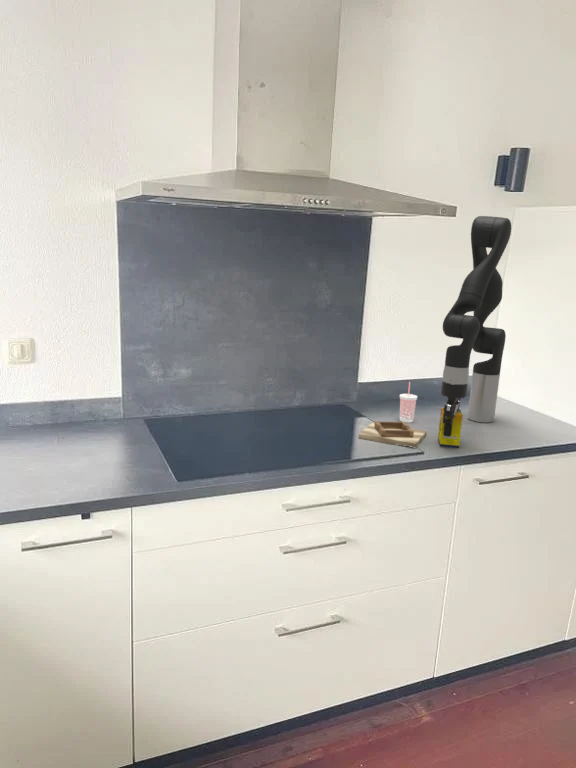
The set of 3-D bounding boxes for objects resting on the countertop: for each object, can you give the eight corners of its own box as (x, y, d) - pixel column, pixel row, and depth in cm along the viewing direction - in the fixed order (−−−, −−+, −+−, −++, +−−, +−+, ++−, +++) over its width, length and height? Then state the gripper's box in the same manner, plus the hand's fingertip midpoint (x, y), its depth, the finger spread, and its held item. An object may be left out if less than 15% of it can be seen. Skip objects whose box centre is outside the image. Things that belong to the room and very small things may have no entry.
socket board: (372, 426, 199) (373, 416, 198) (426, 435, 191) (427, 425, 190) (358, 438, 185) (359, 427, 184) (415, 448, 178) (416, 437, 177)
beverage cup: (413, 424, 203) (417, 384, 200) (396, 421, 205) (399, 382, 202) (416, 419, 209) (419, 381, 206) (398, 417, 211) (402, 379, 208)
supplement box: (437, 440, 186) (440, 407, 184) (456, 442, 186) (460, 408, 183) (439, 446, 181) (442, 412, 178) (459, 448, 180) (463, 414, 177)
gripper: (447, 374, 186) (441, 425, 190) (437, 383, 174) (432, 436, 177) (471, 378, 183) (465, 428, 187) (464, 386, 171) (457, 441, 174)
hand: (449, 432), depth 182 cm, fingers closed on supplement box, 7 cm apart
